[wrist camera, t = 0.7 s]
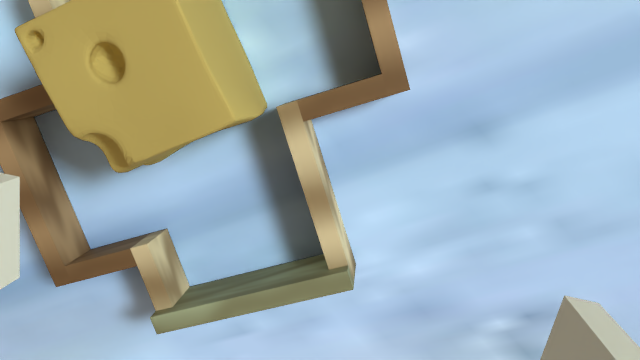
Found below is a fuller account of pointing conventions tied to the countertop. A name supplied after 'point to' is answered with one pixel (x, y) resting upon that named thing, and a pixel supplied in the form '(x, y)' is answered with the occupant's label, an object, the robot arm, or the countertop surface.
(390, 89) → the trap lane
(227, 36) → the cheese
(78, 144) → the countertop surface
